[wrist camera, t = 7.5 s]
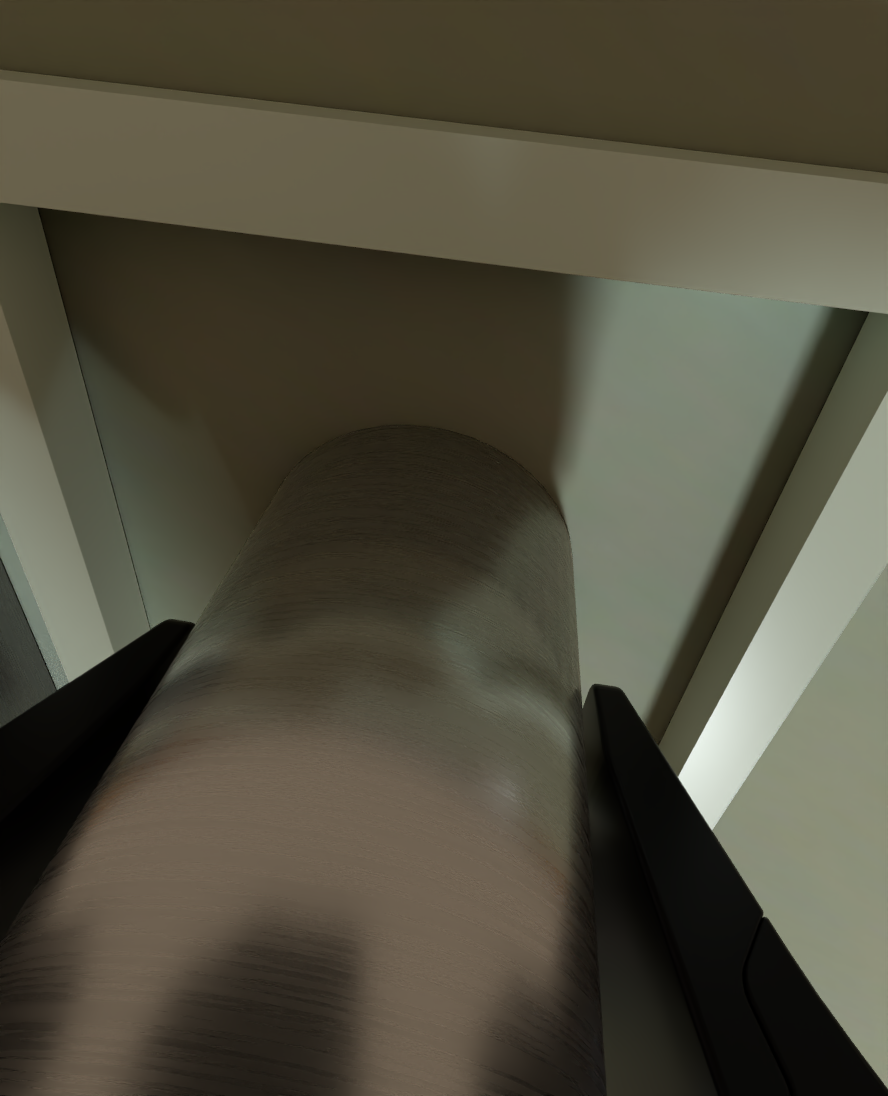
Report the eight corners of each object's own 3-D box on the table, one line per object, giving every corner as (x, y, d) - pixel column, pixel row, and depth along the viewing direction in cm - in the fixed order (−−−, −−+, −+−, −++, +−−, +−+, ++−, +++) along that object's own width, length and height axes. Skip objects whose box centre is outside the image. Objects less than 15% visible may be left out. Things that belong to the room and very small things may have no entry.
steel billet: (541, 687, 13) (541, 1424, 6) (278, 646, 13) (-20, 1311, 6) (606, 451, 10) (779, 1479, 3) (255, 402, 10) (-441, 1233, 3)
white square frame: (675, 821, 15) (684, 871, 14) (133, 735, 16) (107, 777, 15) (1042, 191, 7) (1118, 211, 6) (-96, 58, 8) (-185, 57, 7)
